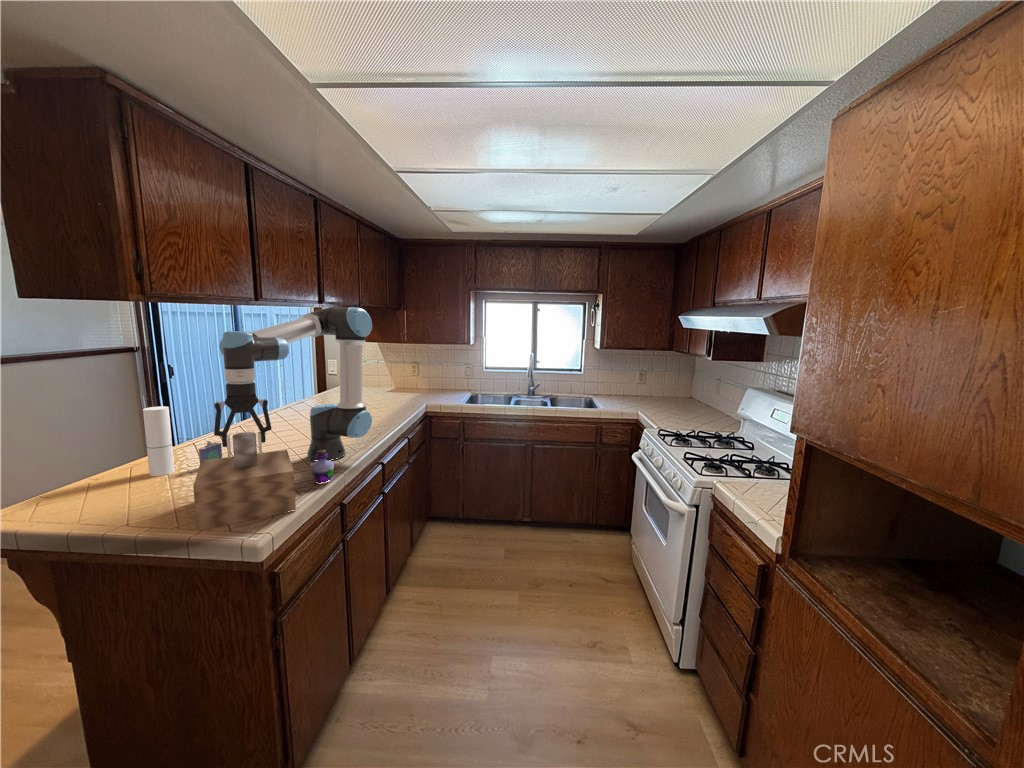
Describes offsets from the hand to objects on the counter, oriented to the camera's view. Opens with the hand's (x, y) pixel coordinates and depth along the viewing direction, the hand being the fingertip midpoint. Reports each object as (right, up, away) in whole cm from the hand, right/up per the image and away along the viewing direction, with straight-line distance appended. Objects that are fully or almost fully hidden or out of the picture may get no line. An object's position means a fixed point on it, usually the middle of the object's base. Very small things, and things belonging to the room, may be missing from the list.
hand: (245, 454), depth 125 cm
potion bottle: (+14, -14, +22) cm, 30 cm away
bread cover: (0, -16, +2) cm, 17 cm away
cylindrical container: (-49, -12, +26) cm, 57 cm away
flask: (-36, -11, +34) cm, 50 cm away
